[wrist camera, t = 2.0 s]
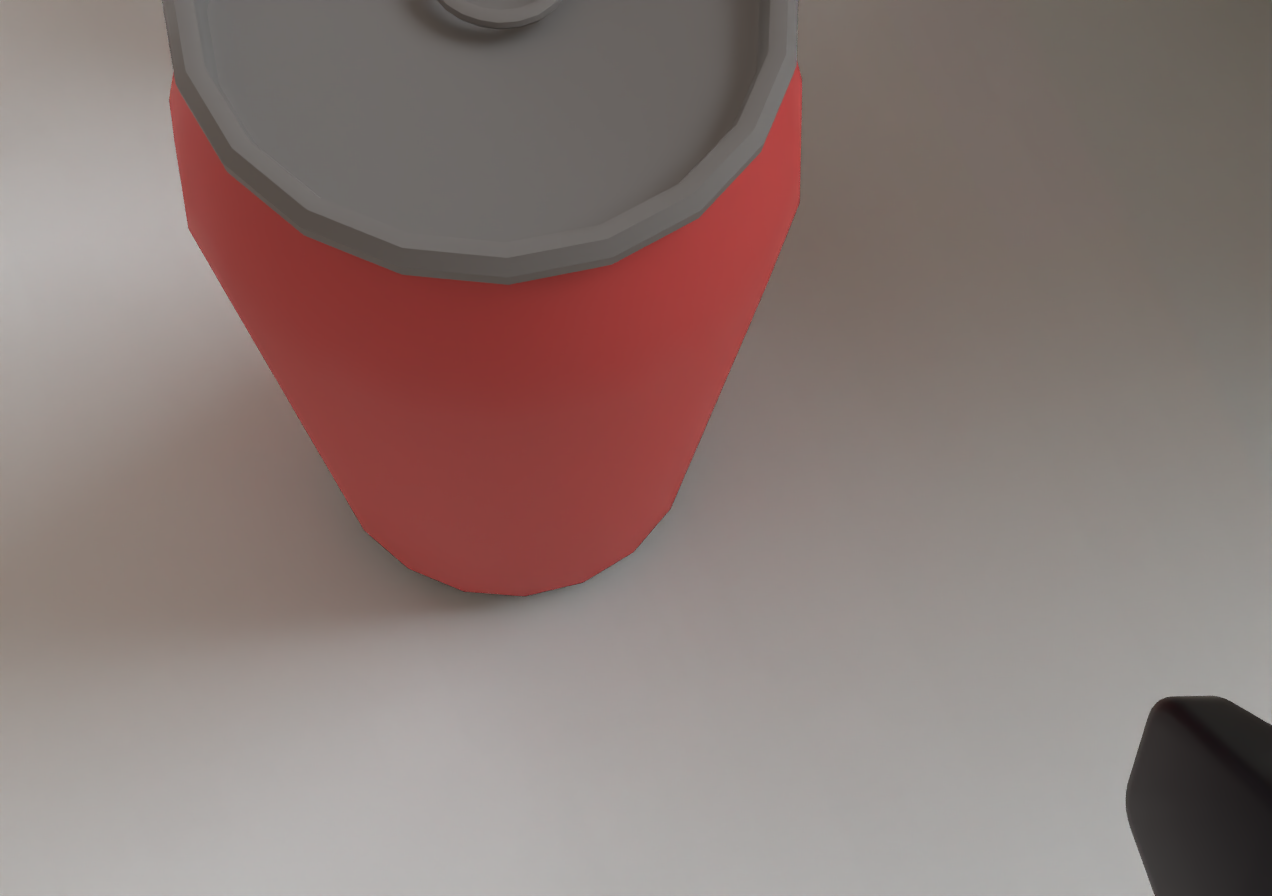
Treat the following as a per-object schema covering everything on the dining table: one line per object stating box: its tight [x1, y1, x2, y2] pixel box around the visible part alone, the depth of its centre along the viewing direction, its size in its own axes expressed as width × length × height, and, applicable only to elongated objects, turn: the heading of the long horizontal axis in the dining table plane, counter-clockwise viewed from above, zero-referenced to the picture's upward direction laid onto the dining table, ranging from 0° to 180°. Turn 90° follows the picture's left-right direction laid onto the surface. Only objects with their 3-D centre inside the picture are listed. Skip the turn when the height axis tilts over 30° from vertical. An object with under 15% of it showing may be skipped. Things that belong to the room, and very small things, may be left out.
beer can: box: [162, 0, 802, 596], centre depth 16 cm, size 7×7×12 cm
